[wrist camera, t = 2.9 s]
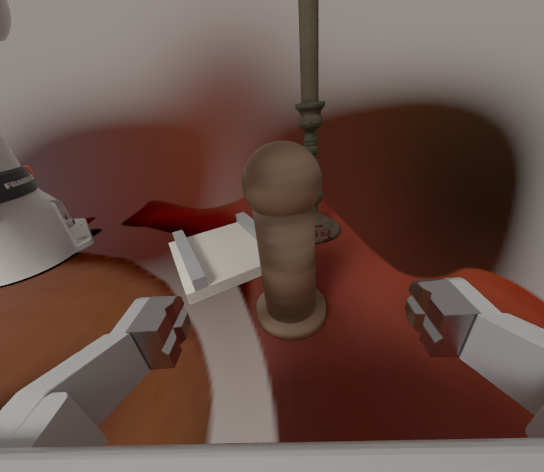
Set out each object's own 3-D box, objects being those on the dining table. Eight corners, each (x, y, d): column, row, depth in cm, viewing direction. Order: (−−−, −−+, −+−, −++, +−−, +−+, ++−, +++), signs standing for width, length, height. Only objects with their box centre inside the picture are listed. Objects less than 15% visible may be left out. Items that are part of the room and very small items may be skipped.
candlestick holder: (287, 247, 36) (266, -40, 21) (282, 221, 44) (264, 0, 29) (348, 240, 36) (368, -51, 21) (331, 216, 44) (338, -8, 29)
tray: (171, 251, 38) (165, 234, 36) (251, 225, 43) (249, 210, 42) (189, 305, 27) (182, 284, 25) (294, 262, 32) (293, 243, 31)
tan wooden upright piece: (246, 304, 26) (215, 144, 18) (299, 280, 29) (292, 132, 21) (279, 353, 21) (254, 155, 13) (341, 318, 23) (352, 136, 15)
